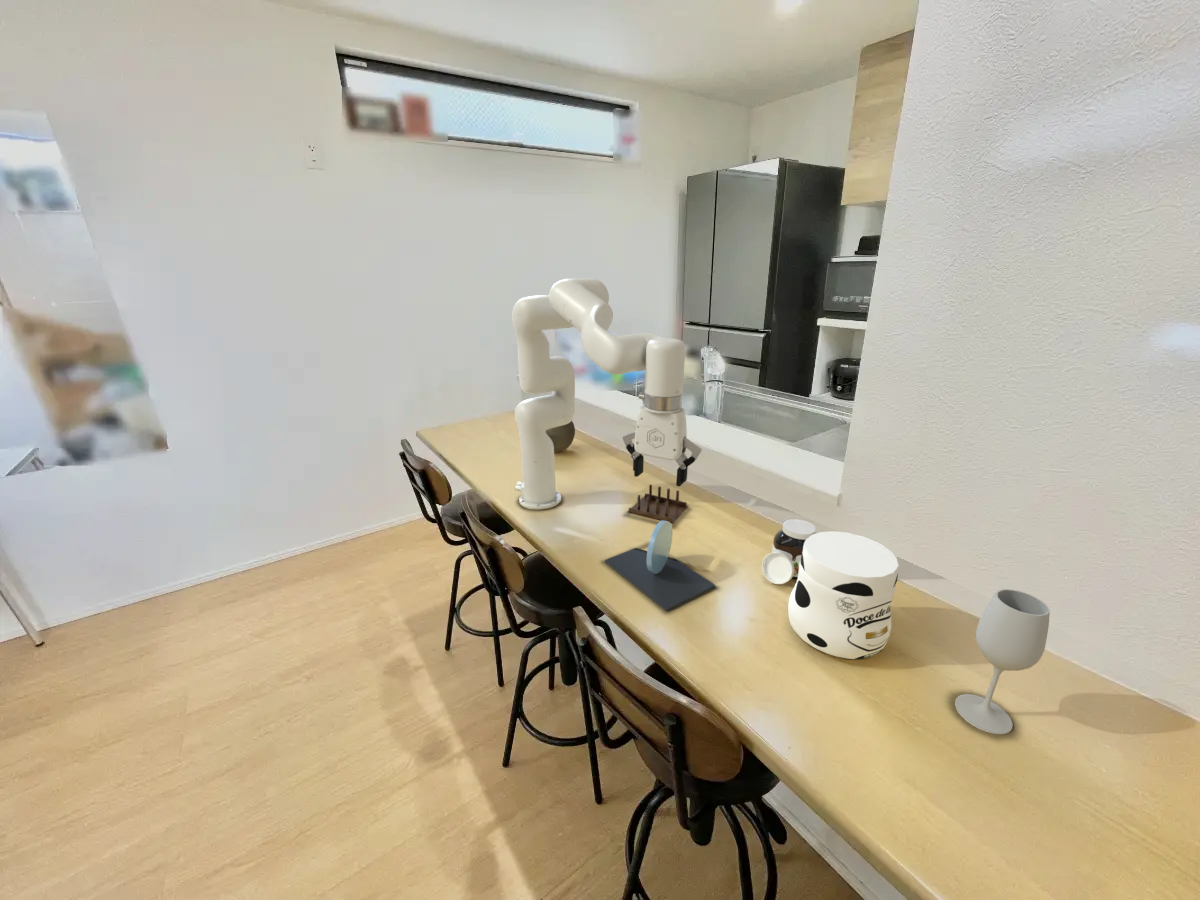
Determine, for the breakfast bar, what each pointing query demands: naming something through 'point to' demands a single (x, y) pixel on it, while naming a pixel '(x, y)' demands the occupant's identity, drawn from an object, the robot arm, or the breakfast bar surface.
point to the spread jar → (787, 551)
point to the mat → (660, 578)
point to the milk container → (844, 595)
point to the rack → (659, 506)
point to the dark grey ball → (562, 436)
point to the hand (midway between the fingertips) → (659, 479)
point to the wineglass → (1005, 651)
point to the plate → (659, 547)
